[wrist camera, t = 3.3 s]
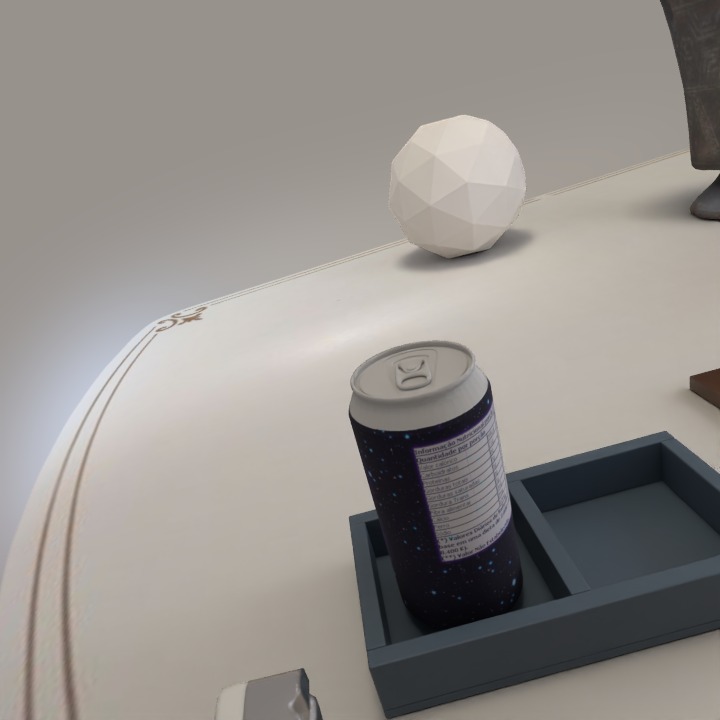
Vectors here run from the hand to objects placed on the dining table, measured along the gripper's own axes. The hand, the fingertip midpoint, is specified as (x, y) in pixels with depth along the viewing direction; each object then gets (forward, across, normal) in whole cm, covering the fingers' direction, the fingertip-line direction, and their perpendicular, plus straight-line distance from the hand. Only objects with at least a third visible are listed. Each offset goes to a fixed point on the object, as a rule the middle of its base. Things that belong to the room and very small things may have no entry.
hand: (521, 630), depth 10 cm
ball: (+74, +19, -12) cm, 77 cm away
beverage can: (+12, 0, -12) cm, 17 cm away
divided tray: (+12, +5, -12) cm, 18 cm away
